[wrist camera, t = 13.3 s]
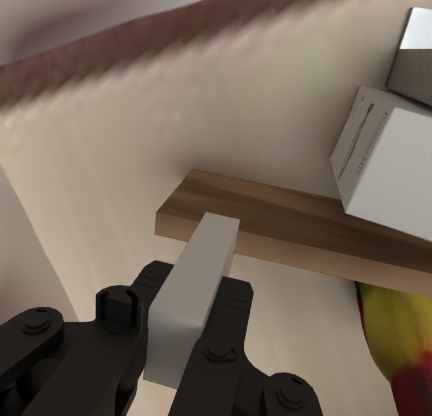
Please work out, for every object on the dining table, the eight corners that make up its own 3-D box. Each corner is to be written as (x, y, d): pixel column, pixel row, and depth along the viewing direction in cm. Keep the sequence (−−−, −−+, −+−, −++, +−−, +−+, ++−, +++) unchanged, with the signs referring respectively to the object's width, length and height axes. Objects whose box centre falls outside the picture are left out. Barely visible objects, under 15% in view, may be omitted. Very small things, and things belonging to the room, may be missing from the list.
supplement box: (359, 82, 31) (396, 101, 20) (443, 107, 31) (530, 141, 19) (326, 160, 34) (341, 214, 23) (401, 184, 34) (454, 251, 23)
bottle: (416, 322, 40) (516, 549, 22) (355, 325, 41) (401, 536, 23) (412, 226, 35) (533, 409, 17) (344, 234, 37) (391, 407, 19)
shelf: (486, 249, 35) (563, 328, 25) (190, 186, 38) (154, 234, 29) (554, 127, 30) (683, 166, 20) (204, 68, 33) (166, 76, 23)
